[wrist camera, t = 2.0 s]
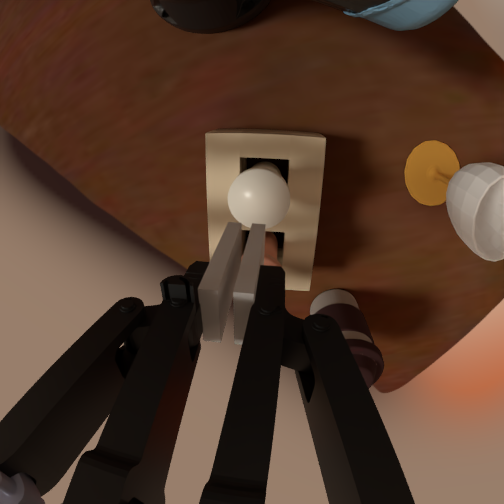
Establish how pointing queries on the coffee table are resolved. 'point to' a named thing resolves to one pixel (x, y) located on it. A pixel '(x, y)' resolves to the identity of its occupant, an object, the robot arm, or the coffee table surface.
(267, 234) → the terracotta plug
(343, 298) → the coffee cup
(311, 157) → the beech block
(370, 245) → the coffee table surface
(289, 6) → the coffee table surface
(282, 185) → the ivory plug
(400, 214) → the coffee table surface
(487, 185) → the cup
